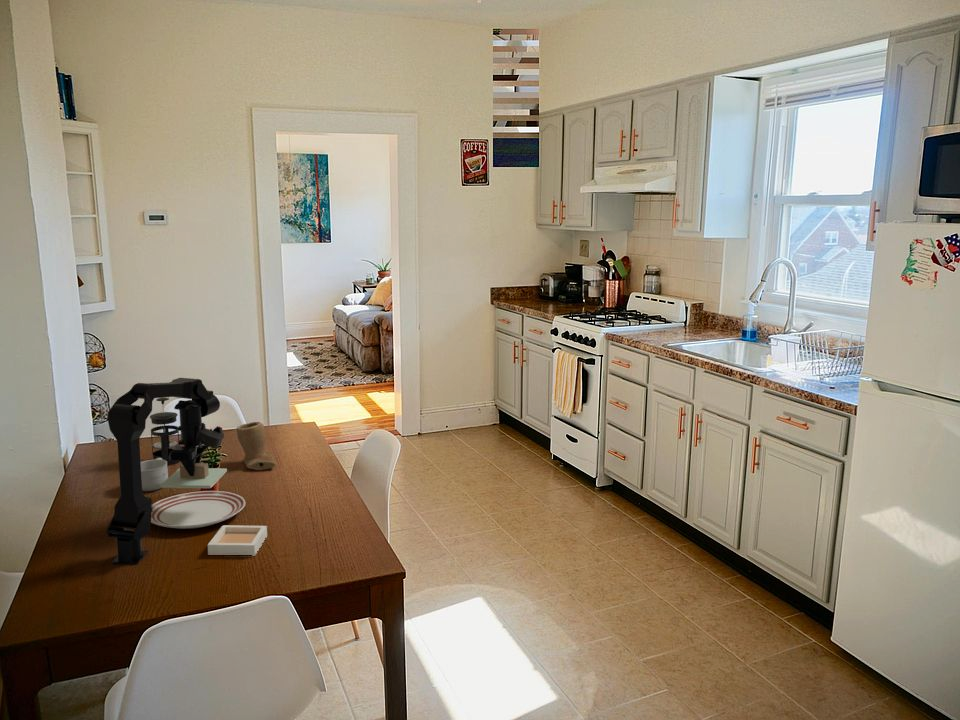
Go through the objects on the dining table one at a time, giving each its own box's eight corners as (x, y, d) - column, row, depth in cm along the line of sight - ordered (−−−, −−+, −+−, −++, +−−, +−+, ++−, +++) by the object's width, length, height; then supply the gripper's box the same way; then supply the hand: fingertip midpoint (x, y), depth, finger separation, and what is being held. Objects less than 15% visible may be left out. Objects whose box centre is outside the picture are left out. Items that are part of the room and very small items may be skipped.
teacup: (155, 495, 228) (153, 471, 227) (124, 492, 231) (122, 468, 229) (181, 480, 242) (180, 456, 240) (152, 477, 244) (150, 454, 242)
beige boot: (236, 460, 262) (234, 419, 259) (271, 456, 266) (269, 416, 264) (240, 474, 248) (238, 431, 245) (277, 470, 253) (275, 428, 250)
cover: (210, 488, 205) (209, 473, 204) (160, 487, 205) (159, 473, 204) (226, 471, 219) (226, 457, 218) (179, 470, 219) (178, 456, 218)
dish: (254, 556, 190) (254, 545, 189) (208, 555, 190) (207, 544, 189) (267, 536, 202) (266, 525, 201) (223, 535, 202) (222, 525, 201)
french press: (153, 457, 263) (149, 395, 258) (181, 455, 266) (177, 393, 261) (150, 468, 252) (146, 403, 247) (180, 466, 255) (176, 401, 250)
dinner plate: (147, 505, 222) (147, 494, 221) (242, 494, 232) (242, 484, 231) (142, 543, 197) (141, 531, 196) (249, 529, 206) (248, 518, 206)
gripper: (208, 431, 199) (211, 486, 202) (230, 413, 218) (232, 463, 221) (166, 431, 199) (170, 485, 202) (192, 412, 218) (195, 462, 221)
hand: (194, 473), depth 211 cm, fingers closed on cover, 3 cm apart
